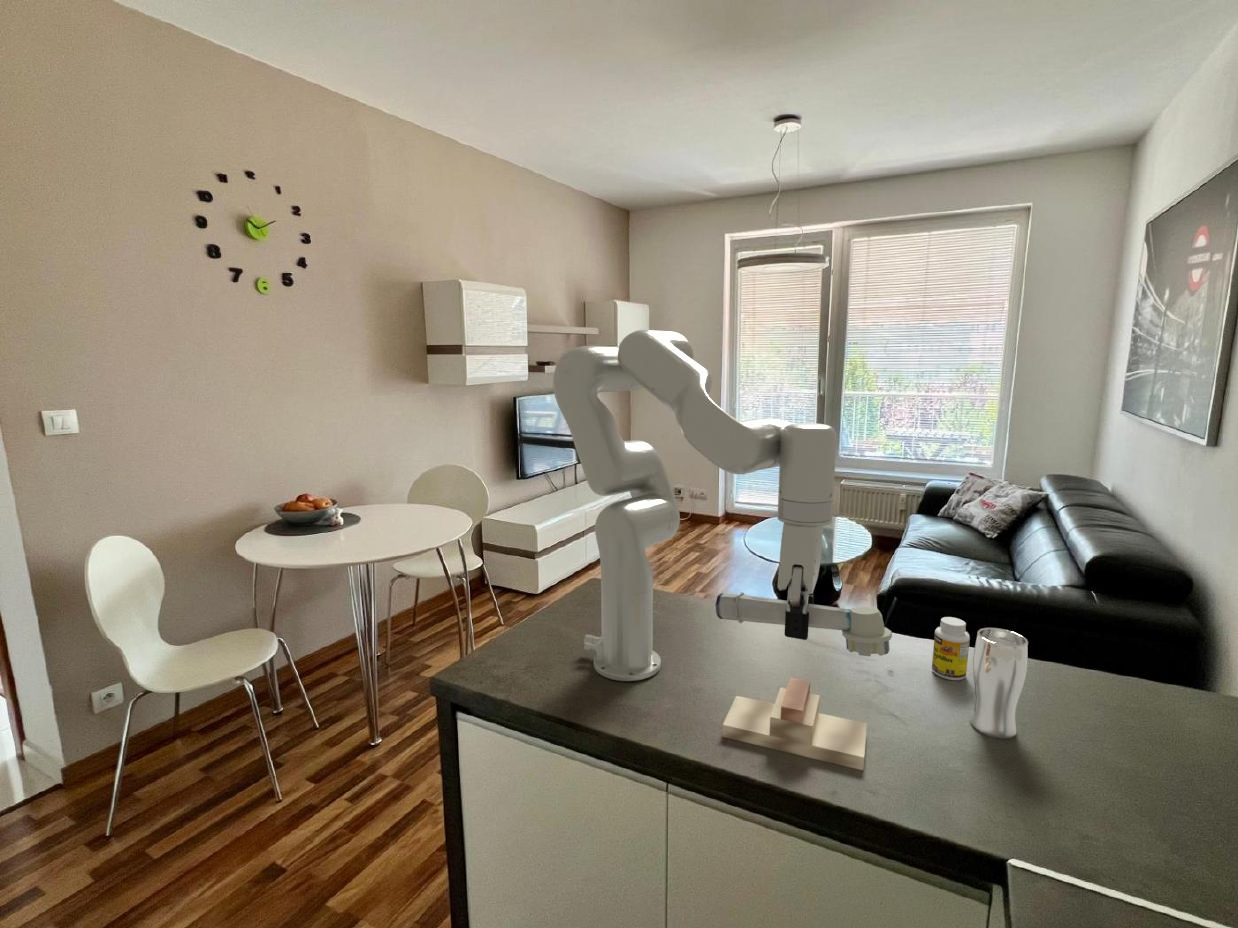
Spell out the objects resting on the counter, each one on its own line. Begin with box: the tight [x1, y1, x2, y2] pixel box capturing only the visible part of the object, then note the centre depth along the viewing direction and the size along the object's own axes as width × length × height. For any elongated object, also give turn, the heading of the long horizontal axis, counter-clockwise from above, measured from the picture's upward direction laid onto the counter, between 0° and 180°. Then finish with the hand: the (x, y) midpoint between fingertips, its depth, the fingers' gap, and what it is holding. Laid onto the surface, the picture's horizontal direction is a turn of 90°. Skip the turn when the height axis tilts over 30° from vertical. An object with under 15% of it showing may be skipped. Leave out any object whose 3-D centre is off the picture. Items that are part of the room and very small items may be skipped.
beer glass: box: [970, 627, 1029, 740], centre depth 95 cm, size 7×7×15 cm
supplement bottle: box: [931, 616, 971, 681], centre depth 112 cm, size 6×6×10 cm
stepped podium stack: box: [722, 677, 868, 771], centre depth 94 cm, size 20×9×7 cm, turn 66°
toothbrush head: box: [715, 592, 893, 657], centre depth 92 cm, size 5×7×25 cm
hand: (798, 627), depth 92 cm, fingers closed on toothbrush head, 5 cm apart
